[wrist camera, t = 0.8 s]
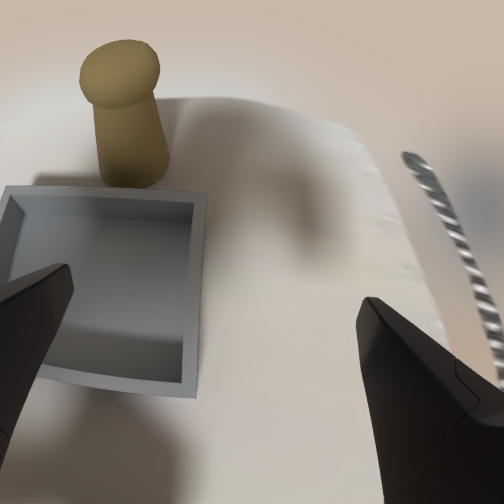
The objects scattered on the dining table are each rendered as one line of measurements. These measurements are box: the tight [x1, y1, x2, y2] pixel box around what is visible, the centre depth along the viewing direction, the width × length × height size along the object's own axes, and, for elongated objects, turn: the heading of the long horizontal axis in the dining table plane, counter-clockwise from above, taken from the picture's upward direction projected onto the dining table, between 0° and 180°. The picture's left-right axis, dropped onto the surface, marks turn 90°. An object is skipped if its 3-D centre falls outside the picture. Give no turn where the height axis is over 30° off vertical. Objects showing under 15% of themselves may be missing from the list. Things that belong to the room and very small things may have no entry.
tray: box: [0, 186, 208, 399], centre depth 19 cm, size 16×13×4 cm
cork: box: [79, 40, 169, 189], centre depth 20 cm, size 6×6×11 cm
